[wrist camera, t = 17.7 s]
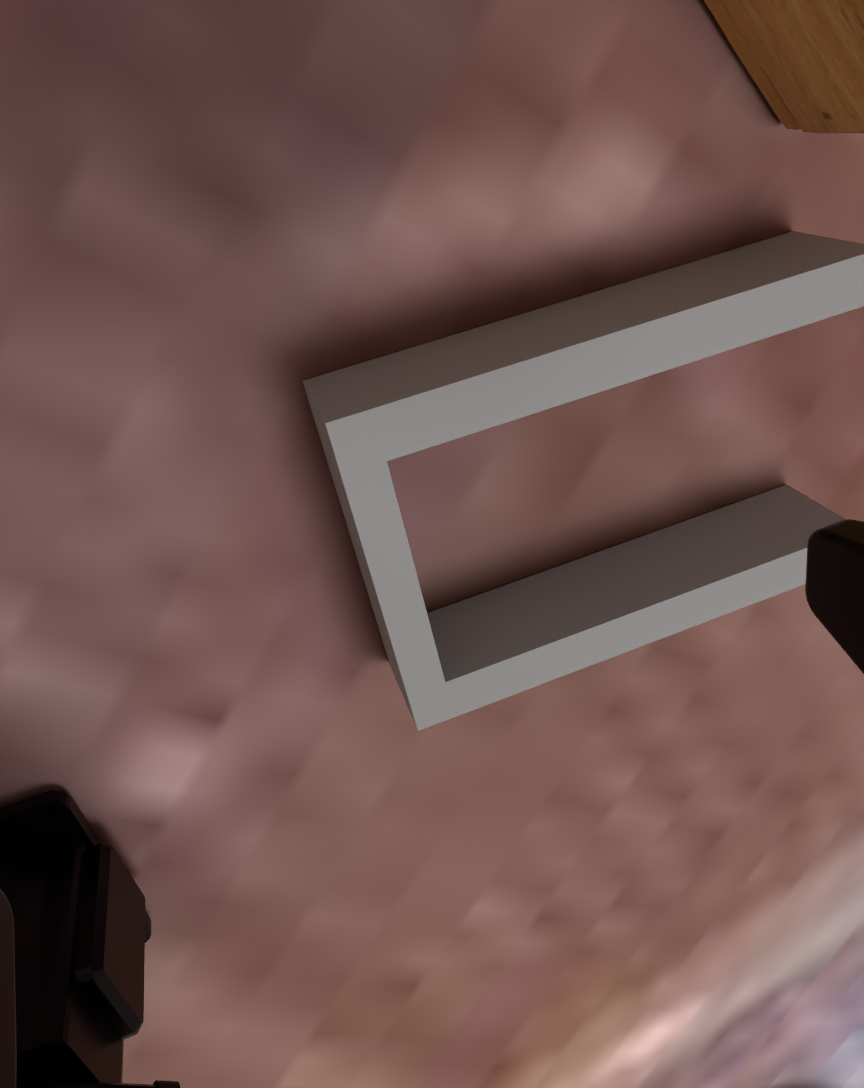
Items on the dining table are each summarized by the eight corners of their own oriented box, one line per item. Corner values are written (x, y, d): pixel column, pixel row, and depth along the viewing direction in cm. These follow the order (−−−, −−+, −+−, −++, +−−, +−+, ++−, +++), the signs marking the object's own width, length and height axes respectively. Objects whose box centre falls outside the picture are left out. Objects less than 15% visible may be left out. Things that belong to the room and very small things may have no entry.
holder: (389, 662, 23) (417, 730, 20) (302, 380, 18) (325, 423, 16) (785, 518, 25) (856, 564, 22) (793, 231, 20) (883, 248, 18)
